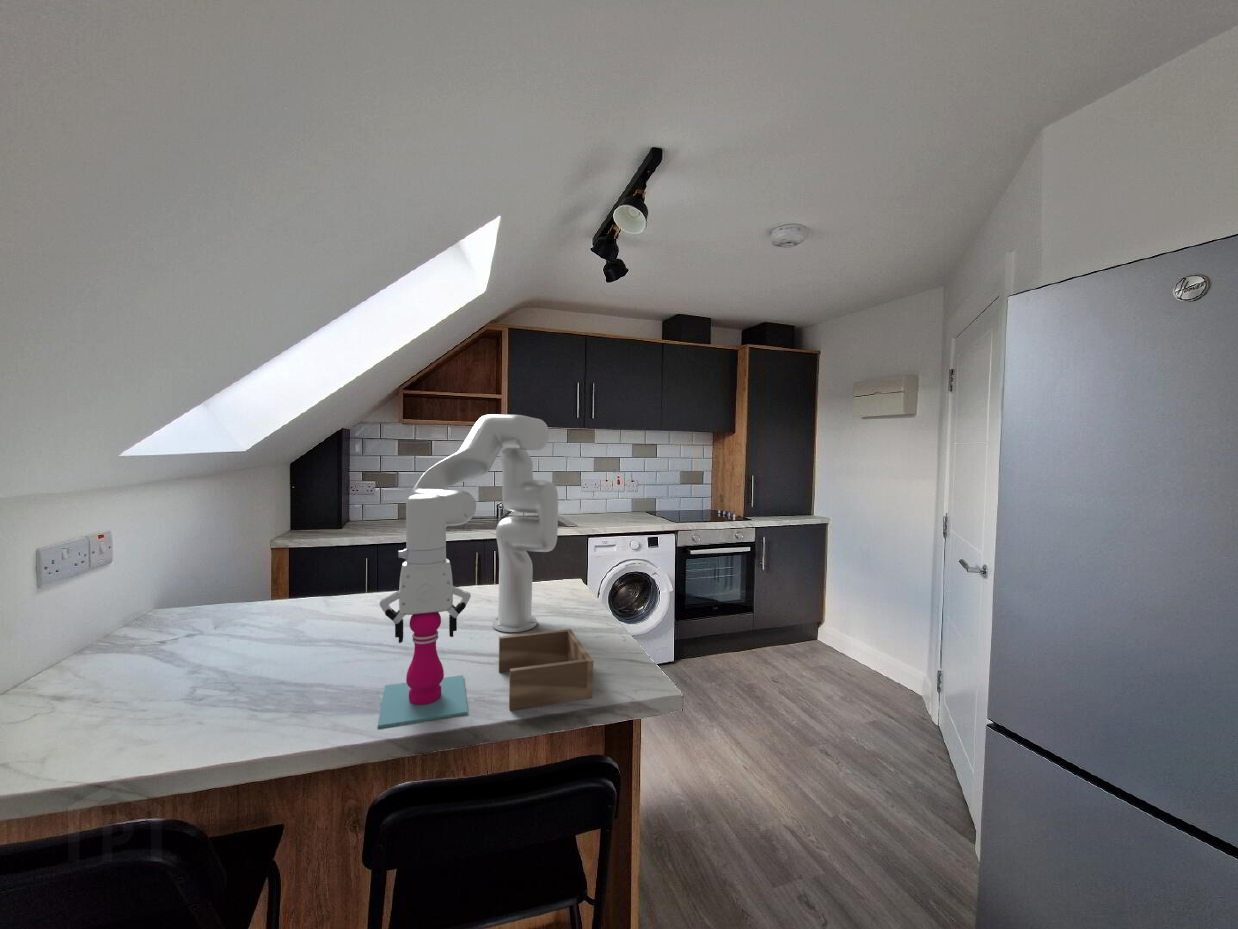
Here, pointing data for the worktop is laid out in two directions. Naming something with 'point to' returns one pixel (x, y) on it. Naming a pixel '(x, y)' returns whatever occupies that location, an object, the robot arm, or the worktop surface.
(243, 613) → the worktop surface
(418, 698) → the pepper mill
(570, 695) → the open side box
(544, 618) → the worktop surface
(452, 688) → the mat
